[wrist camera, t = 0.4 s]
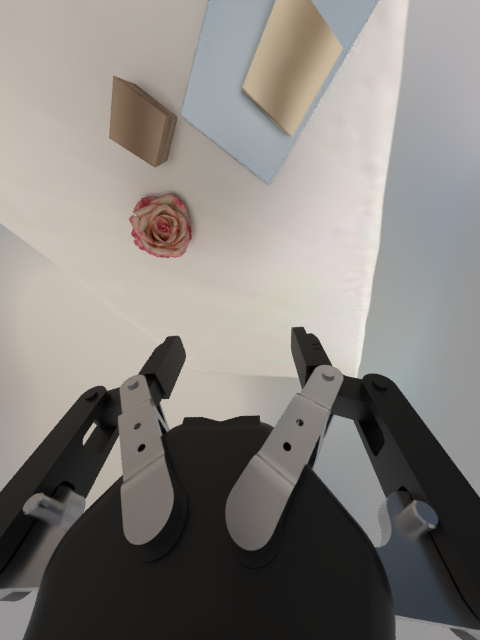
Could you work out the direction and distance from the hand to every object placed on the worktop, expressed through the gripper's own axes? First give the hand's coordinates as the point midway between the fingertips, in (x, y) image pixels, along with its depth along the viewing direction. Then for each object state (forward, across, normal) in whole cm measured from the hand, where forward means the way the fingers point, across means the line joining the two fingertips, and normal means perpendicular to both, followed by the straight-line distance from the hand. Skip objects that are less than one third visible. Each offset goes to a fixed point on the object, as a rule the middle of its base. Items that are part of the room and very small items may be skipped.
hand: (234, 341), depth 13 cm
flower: (+26, +12, -8) cm, 30 cm away
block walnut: (+23, +10, -19) cm, 32 cm away
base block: (+22, -7, -20) cm, 31 cm away
